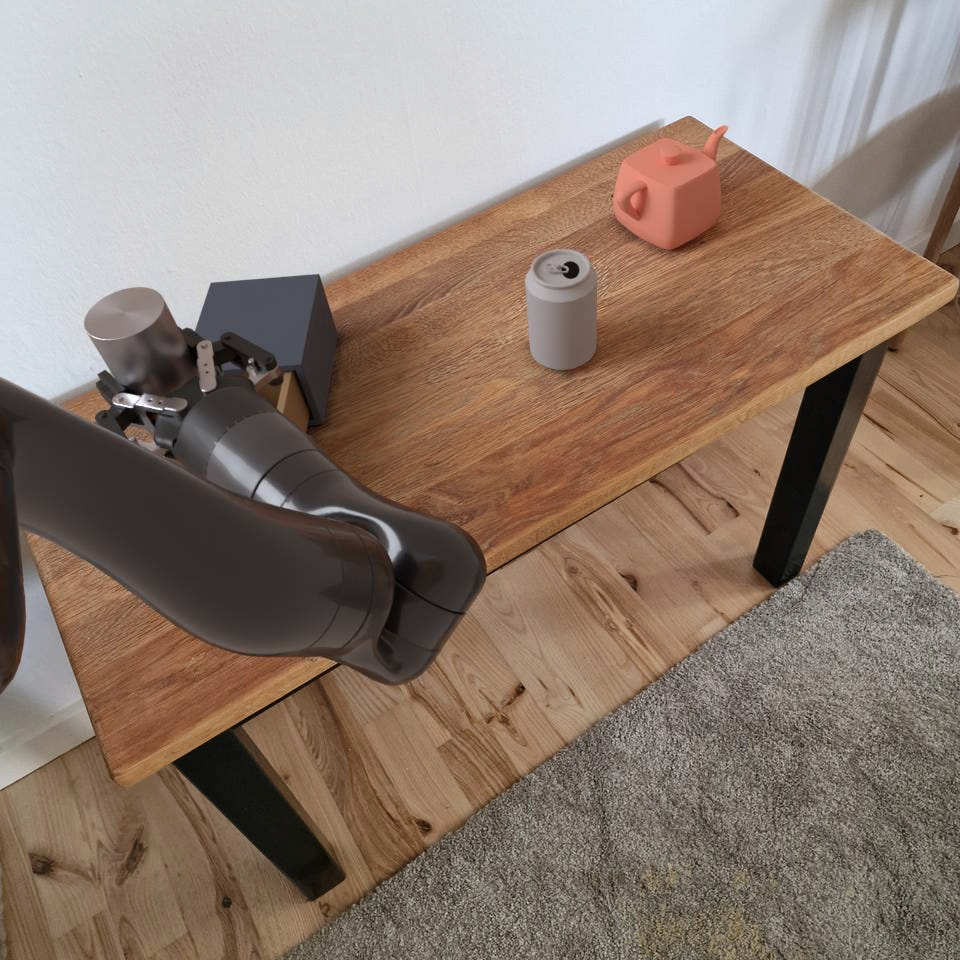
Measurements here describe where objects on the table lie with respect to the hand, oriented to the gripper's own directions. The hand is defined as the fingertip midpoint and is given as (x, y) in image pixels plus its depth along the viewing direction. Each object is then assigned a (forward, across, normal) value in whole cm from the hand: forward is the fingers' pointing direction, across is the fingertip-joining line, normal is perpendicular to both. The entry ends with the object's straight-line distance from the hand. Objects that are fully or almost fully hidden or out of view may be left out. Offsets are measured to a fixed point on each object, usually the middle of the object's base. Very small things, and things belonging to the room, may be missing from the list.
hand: (142, 358), depth 67 cm
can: (-10, -39, +22) cm, 46 cm away
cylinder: (-2, 0, +11) cm, 11 cm away
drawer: (+2, -4, +21) cm, 21 cm away
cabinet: (+12, -15, +22) cm, 29 cm away
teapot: (-4, -66, +22) cm, 70 cm away
